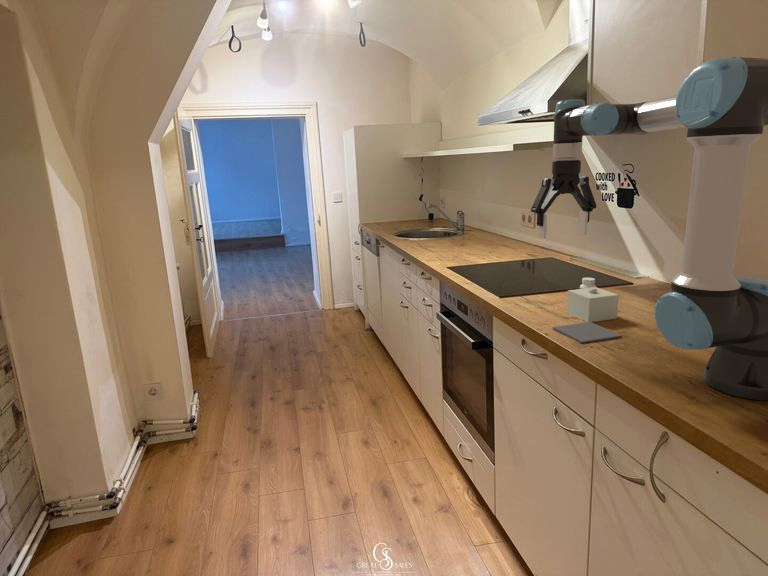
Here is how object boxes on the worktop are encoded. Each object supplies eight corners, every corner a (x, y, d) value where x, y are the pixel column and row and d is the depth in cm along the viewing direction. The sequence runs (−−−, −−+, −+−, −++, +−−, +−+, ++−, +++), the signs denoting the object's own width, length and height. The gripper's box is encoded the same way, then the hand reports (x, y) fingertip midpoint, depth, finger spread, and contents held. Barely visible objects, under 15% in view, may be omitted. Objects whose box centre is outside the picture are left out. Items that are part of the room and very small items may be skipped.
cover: (616, 318, 155) (619, 291, 153) (588, 322, 152) (589, 295, 150) (594, 309, 165) (595, 284, 163) (566, 313, 162) (568, 287, 160)
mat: (621, 337, 139) (621, 335, 139) (581, 343, 135) (581, 341, 135) (590, 323, 151) (590, 321, 151) (552, 329, 148) (552, 327, 147)
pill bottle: (592, 307, 167) (594, 281, 165) (576, 305, 170) (578, 279, 168) (597, 303, 171) (599, 278, 169) (581, 301, 174) (582, 276, 172)
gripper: (594, 158, 147) (589, 230, 152) (519, 161, 140) (517, 237, 145) (613, 157, 140) (607, 234, 146) (535, 161, 133) (532, 241, 138)
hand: (562, 235), depth 145 cm, fingers open, 13 cm apart
